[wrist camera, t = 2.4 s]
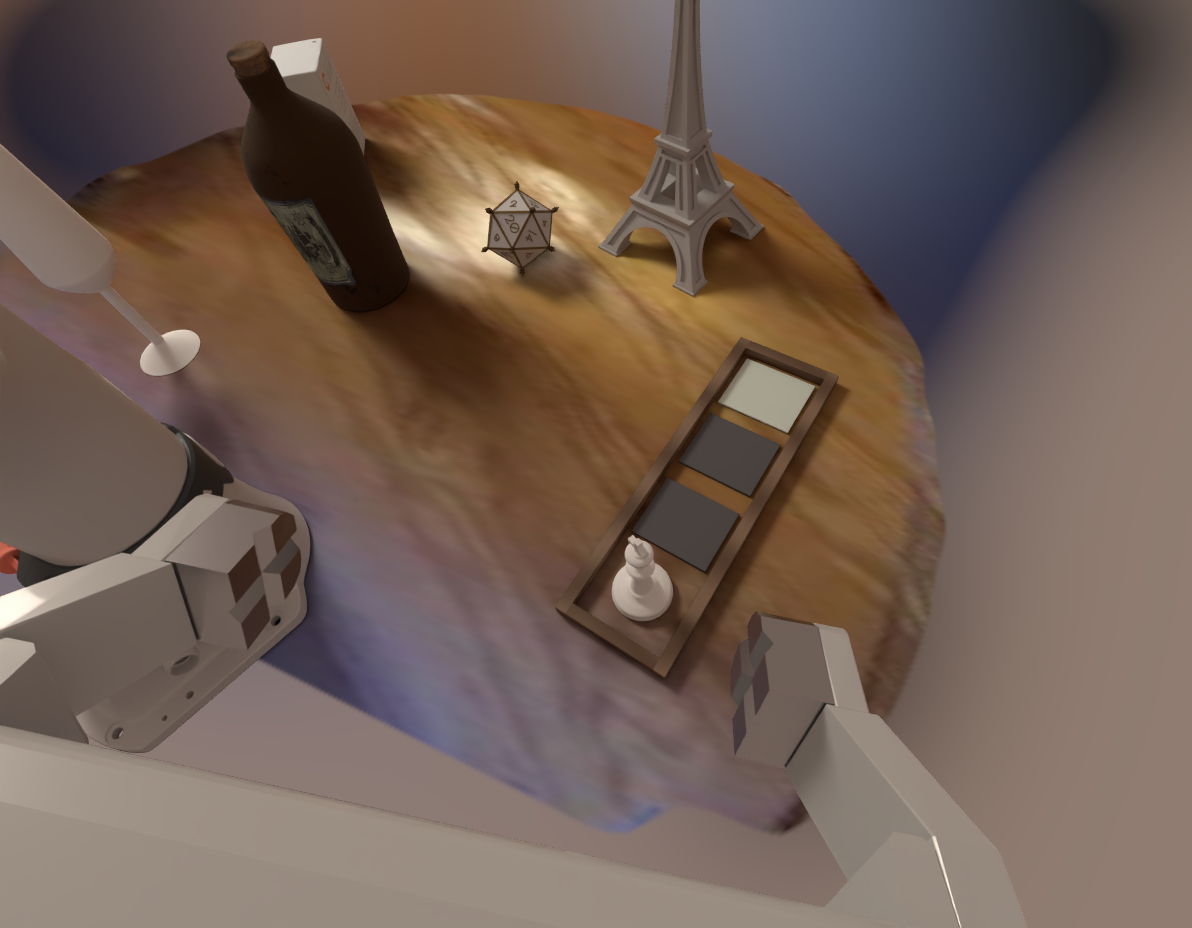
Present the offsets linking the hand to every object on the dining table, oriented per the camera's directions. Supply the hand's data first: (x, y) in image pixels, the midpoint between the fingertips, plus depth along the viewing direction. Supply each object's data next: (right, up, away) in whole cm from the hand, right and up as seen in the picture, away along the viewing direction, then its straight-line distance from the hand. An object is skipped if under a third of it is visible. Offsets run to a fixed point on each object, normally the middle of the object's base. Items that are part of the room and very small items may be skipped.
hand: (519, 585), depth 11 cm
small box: (-34, +44, +74) cm, 93 cm away
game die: (-7, +26, +61) cm, 66 cm away
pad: (+17, +9, +48) cm, 51 cm away
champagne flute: (-46, +15, +58) cm, 76 cm away
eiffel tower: (+11, +28, +60) cm, 67 cm away
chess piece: (+5, -8, +39) cm, 40 cm away
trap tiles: (+11, 0, +43) cm, 45 cm away
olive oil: (-25, +23, +61) cm, 70 cm away
